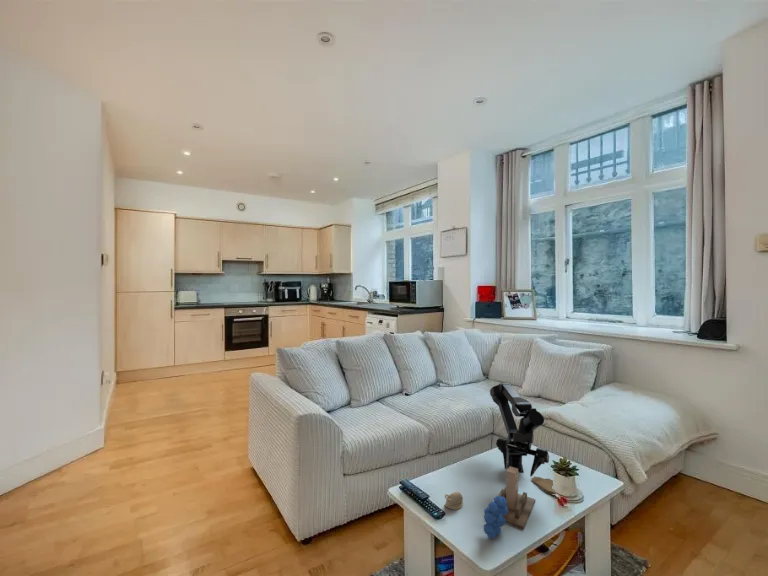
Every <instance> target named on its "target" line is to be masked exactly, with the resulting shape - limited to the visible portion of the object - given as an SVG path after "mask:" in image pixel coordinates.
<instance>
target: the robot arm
mask: <svg viewBox="0 0 768 576" xmlns="http://www.w3.org/2000/svg"><path fill="white" fill-rule="evenodd" d="M489 395H490V397H491V399H492V402H494V404H496V405H497V407H498V409H499V412H500V415H501V418H502V421H503V423H504V424H503V425H504V427H505V431H506V433H507V436H506V439H504V438H500V437H499V438H497V439H496V442H495V445H496V447H497V450H498V451H500V452H501V453H502V456H503V464H504V465H503V466H504V469H505V470H506V471H507V470H508V468H509V466H511V467H514V468H518V473H524V465H523V457H527V456H528V455H530V456H533V462H532V465H531V469H530V473H529V474H530V475H529V476H530V477H531V478H533V477H534V476H533V475H534V474H535V473H536V471H537V469H539V467H541V465H545V463H547V464H548V463H549V462H550V455H549V451H548V450H547V449H544V448H539V447H536V450H534V449H532V444H534V431H535V430H537V429H538V428H540V427H541V426H542V425H543V424H544V423H545V418H544V416H543V414H542V413H541V412H539V411H538V410H537V408H536V407H534V406H533V405H532V404H531V402H530V401H529V400H527V399H525V398H523V397H521V396H520V395H519V393H518V392H517V391H516V390H515V389H514V388H513V386H512V383H511V382H501V383H498V384H497V385H494V386H492V387H491V388H490V390H489ZM510 404H511V405H510ZM514 416H515V417H521V418H520V419H519V425H518V427H517V424H516V419H515V417H514Z"/></svg>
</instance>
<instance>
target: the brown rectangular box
mask: <svg viewBox="0 0 768 576" xmlns="http://www.w3.org/2000/svg"><path fill="white" fill-rule="evenodd" d="M505 477H506V480H505V481H506V483H505V484H506V486H505V488H506V501H507V505H506V506H507V508H509V509H512V510H515V508H516V506H517V504H518V494H519V472H518V468H514V467H511V466H509V468H508V470H507V469H506V476H505Z"/></svg>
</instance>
